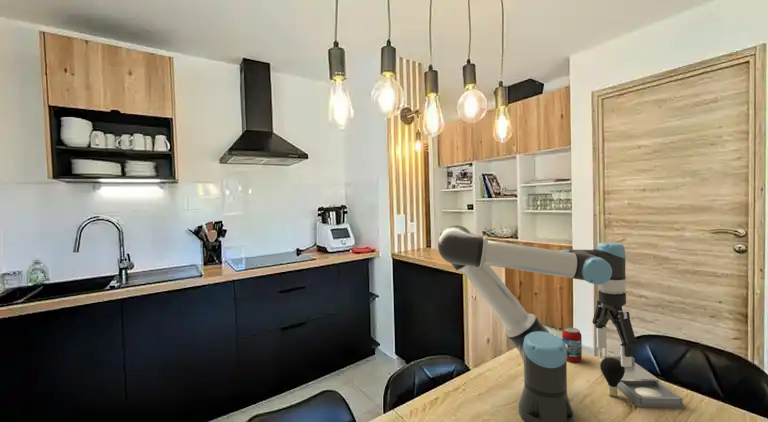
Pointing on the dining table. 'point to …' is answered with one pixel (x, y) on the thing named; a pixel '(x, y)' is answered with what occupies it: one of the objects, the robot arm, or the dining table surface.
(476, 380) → the dining table surface
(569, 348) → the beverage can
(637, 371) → the lid
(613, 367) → the light bulb
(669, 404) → the holder
